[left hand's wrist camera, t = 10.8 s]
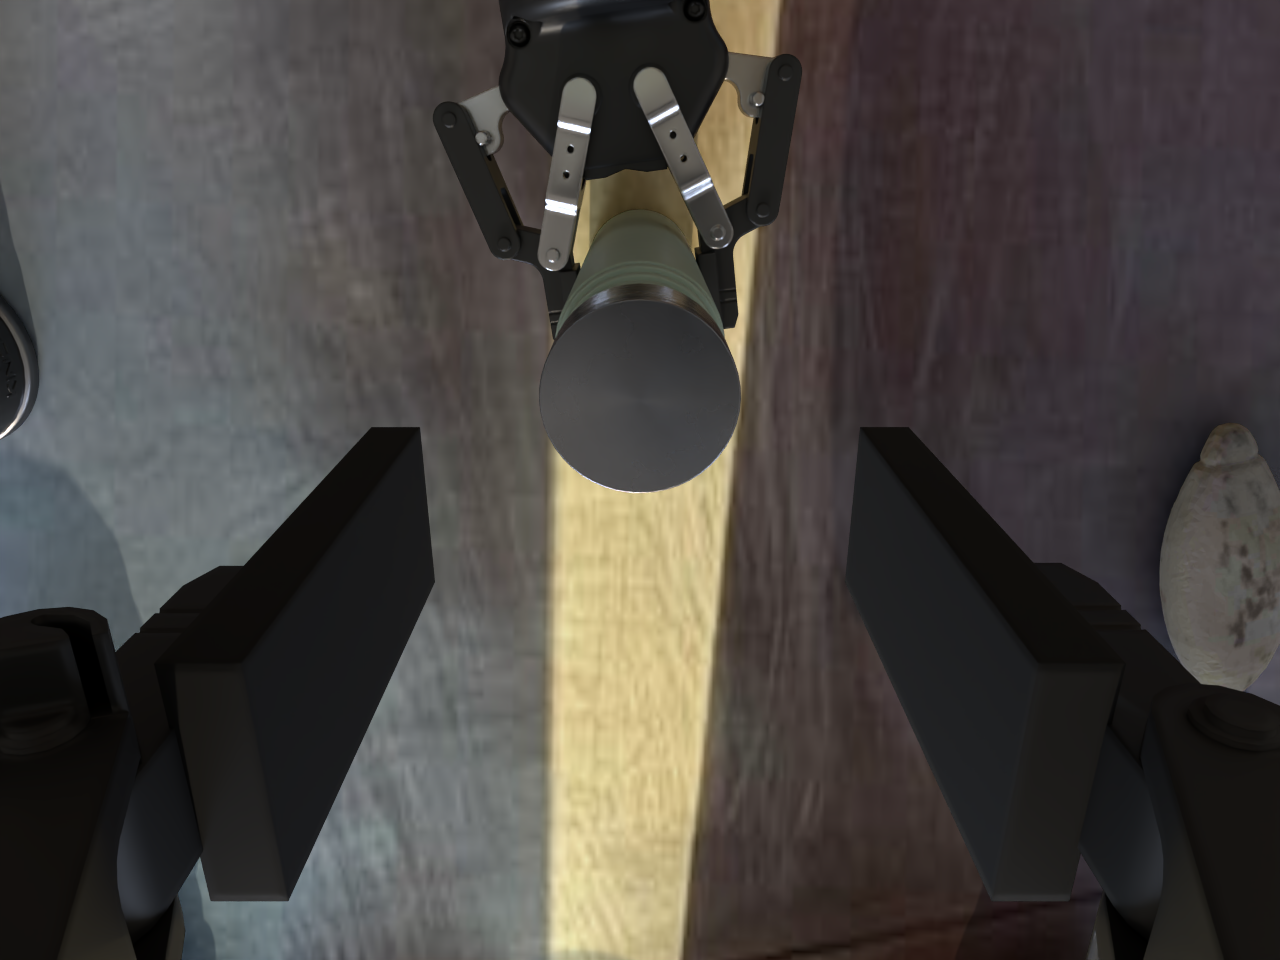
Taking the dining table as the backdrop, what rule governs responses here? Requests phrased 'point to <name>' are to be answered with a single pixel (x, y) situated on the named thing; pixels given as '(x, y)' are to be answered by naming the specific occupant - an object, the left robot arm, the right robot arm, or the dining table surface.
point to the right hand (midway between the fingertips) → (648, 347)
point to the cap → (639, 389)
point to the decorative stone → (1224, 563)
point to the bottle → (640, 261)
